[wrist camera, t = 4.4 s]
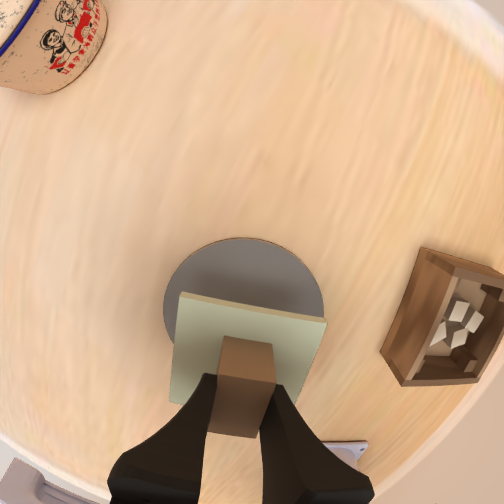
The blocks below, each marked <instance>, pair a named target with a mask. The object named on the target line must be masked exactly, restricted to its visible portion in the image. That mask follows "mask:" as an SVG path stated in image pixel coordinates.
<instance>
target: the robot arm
mask: <svg viewBox="0 0 504 504" xmlns="http://www.w3.org/2000/svg"><path fill="white" fill-rule="evenodd" d="M217 378H218V375H215V374H210V373H203V374H202V377H201V380H200V382H199V384H198V386H197V387H196V389H195V391H194V392H193V394H192V395H191V396H190V398H189V399H188V401H187V402H186V403H185V405H184V406H183V407H182V408H181V409H180V411H179V412H178V413H177V414H176V415H175V416H174V417H173V418H172V419H171V420H170V421H169V422H168V423H167V424H166V425H165V426H164V427H162V428H161V429H160V430H159V431H158V432H156V433H155V434H154V435H152V436H151V437H150V438H148V439H147V440H145V441H144V442H142V443H141V444H139V445H137V446H135V447H134V448H132V449H130V450H128V451H126V452H124V453H123V454H122V455H121V456H120V457H119V459H118V460H117V461H116V463H115V464H114V466H113V468H112V470H111V472H110V474H109V477H108V480H107V484H108V487H109V490H110V493H111V495H112V498H111V501H110V504H198V500H199V495H200V488H201V478H202V467H203V457H204V447H205V439H206V435H207V431H208V427H209V423H210V418H211V413H212V409H213V404H214V399H215V394H216V390H217ZM259 433H260V443H261V453H262V462H263V501H262V504H369V502H370V501H371V500H372V499H373V497H374V495H375V493H374V490H373V487H372V484H371V482H370V479H369V477H368V476H366V475H364V474H362V473H361V472H360V471H359V468H358V465H357V460H358V459H359V458H360V456H361V455H362V454H363V453H364V451H365V450H366V449H367V447H368V446H369V444H368V442H342V443H322V442H321V441H320V440H319V439H318V438H317V437H316V435H315V434H314V433H313V432H312V431H311V429H310V428H309V427H308V425H307V424H306V423H305V421H304V420H303V418H302V417H301V415H300V414H299V412H298V411H297V409H296V407H295V406H294V404H293V402H292V401H291V399H290V397H289V395H288V393H287V391H286V390H285V388H284V386H283V385H281V384H276V386H275V389H274V392H273V393H272V396H271V398H270V401H269V404H268V407H267V409H266V412H265V414H264V417H263V420H262V422H261V425H260V427H259ZM0 503H1V504H99V503H96V502H94V501H91V500H88V499H86V498H83V497H81V496H79V495H76V494H74V493H72V492H69V491H67V490H65V489H63V488H61V487H59V486H56V485H54V484H52V483H50V482H48V481H46V480H45V478H44V476H43V475H42V473H40V472H39V471H38V470H37V469H35V468H34V467H32V466H30V465H28V464H26V463H25V462H23V461H21V460H19V459H18V458H14V459H13V461H12V463H11V464H10V466H9V468H8V469H7V471H6V473H5V475H4V476H3V478H2V480H1V482H0Z"/></svg>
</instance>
